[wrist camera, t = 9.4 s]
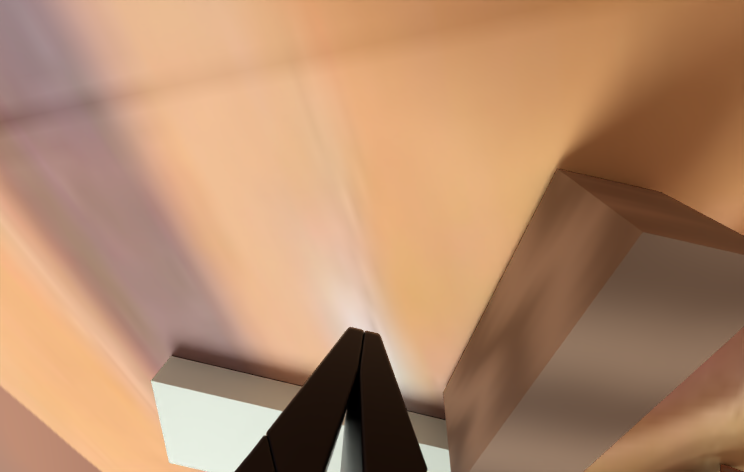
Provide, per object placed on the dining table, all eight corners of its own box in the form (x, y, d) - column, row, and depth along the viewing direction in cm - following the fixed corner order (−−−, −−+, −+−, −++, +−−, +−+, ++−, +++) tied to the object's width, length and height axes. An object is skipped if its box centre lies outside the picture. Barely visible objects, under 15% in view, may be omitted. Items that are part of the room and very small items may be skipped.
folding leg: (497, 422, 20) (524, 534, 15) (434, 408, 20) (442, 517, 15) (659, 191, 12) (821, 277, 7) (555, 168, 12) (651, 238, 7)
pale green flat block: (472, 426, 21) (477, 456, 19) (426, 493, 25) (428, 522, 24) (171, 355, 20) (150, 380, 19) (184, 437, 25) (169, 462, 24)
